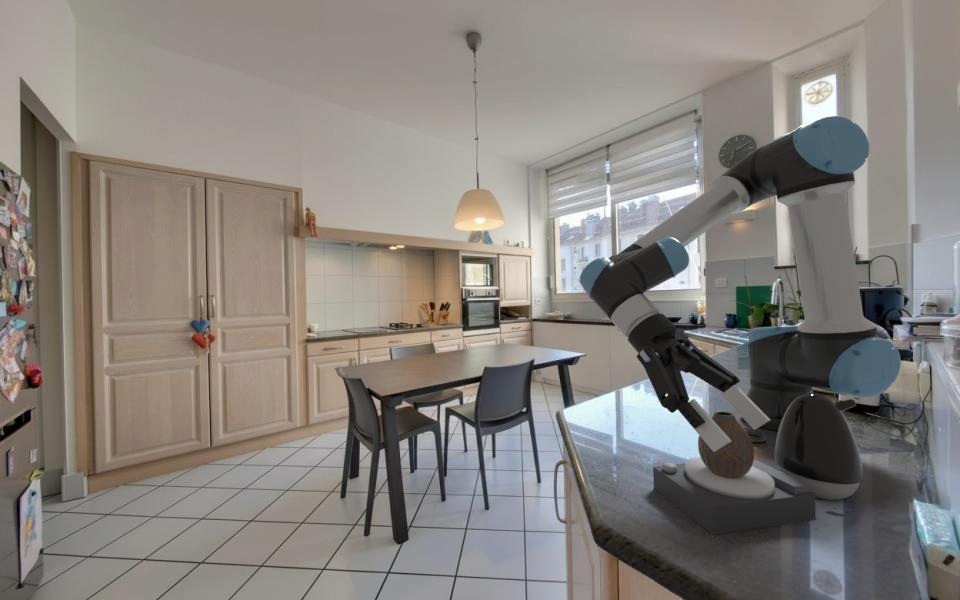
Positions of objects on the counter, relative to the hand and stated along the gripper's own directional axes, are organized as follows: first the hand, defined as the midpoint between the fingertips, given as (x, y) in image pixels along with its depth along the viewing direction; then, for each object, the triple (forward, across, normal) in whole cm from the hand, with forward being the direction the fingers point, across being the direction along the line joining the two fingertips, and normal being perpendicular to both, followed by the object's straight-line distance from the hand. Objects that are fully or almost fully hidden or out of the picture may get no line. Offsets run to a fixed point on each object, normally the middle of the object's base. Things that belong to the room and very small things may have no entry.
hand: (744, 435), depth 53 cm
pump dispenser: (+11, -14, -5) cm, 19 cm away
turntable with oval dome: (+6, 0, -9) cm, 11 cm away
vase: (+3, 0, -6) cm, 7 cm away
